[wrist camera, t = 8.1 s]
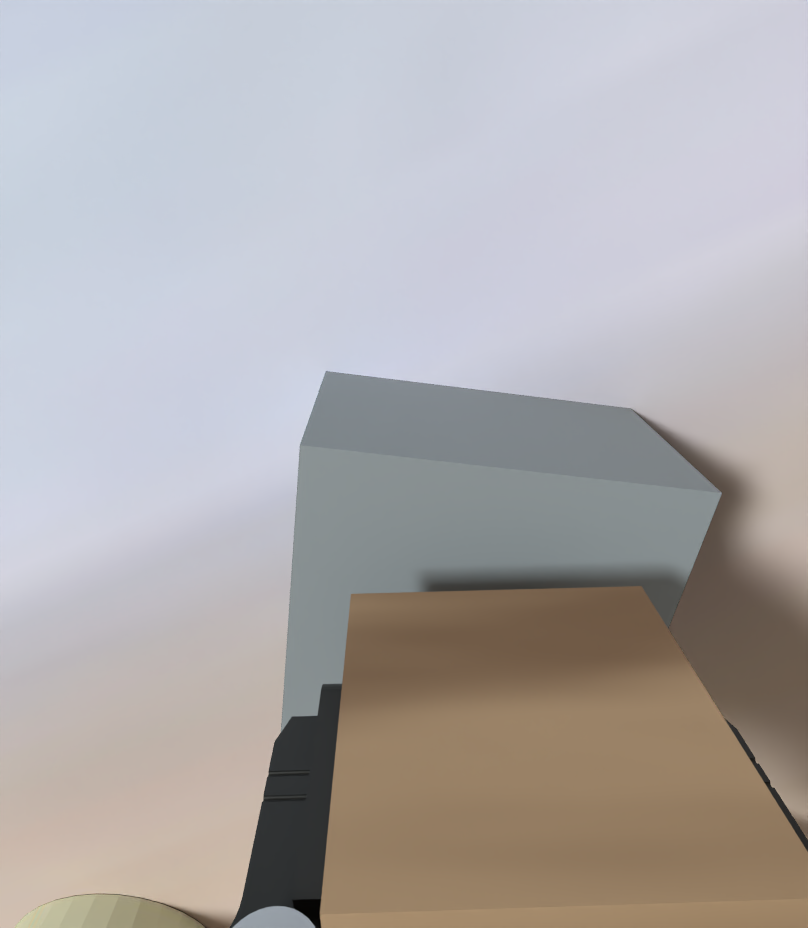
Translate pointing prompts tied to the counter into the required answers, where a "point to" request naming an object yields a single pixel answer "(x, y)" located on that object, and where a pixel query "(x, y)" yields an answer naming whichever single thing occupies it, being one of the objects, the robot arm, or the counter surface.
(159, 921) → the reusable coffee cup
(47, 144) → the counter surface
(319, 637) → the slate block
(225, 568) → the counter surface
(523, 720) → the walnut block
